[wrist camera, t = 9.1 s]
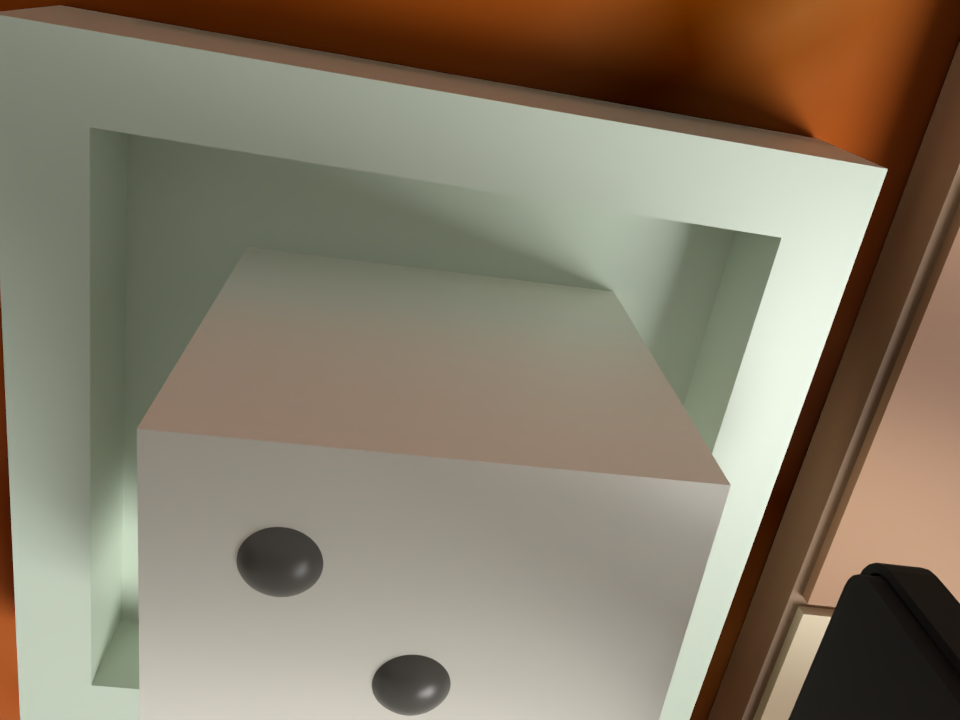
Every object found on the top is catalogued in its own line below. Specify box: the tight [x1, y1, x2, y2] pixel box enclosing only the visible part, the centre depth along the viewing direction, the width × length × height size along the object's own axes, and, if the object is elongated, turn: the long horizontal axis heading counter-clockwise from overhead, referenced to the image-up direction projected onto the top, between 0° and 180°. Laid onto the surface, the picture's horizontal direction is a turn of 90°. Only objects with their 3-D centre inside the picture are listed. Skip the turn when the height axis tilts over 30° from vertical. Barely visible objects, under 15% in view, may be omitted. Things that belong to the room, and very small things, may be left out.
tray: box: [0, 5, 888, 720], centre depth 12 cm, size 10×10×2 cm
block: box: [137, 247, 731, 720], centre depth 10 cm, size 5×5×5 cm
